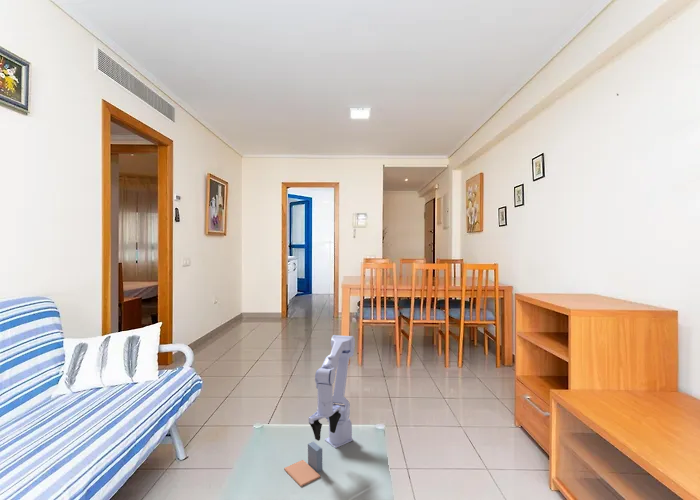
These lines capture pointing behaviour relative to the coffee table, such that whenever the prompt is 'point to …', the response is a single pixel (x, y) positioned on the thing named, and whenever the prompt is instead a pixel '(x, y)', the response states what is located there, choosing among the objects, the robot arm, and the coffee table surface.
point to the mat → (302, 473)
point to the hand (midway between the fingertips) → (325, 435)
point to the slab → (315, 456)
